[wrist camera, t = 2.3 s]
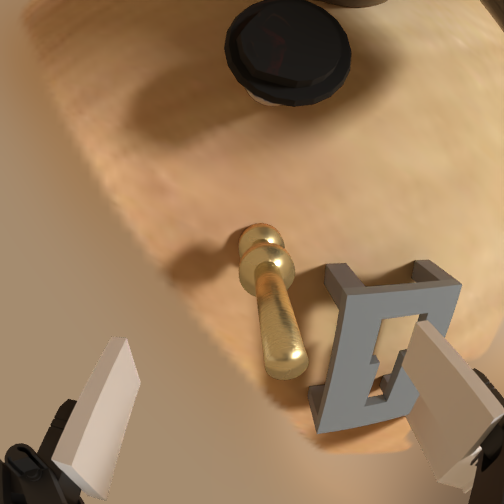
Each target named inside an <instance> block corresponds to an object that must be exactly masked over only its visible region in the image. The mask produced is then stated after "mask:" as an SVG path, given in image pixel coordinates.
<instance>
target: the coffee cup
mask: <svg viewBox="0 0 504 504" xmlns="http://www.w3.org/2000/svg"><path fill="white" fill-rule="evenodd" d="M224 50H225V55H226V59H227V64H228V67H229V68H230V70H231V71H232V73H233V74H234V76H235V78H236V79H237V81H238V82H239V83H240V84H241V85H243V86H244V87H245V89H246V90H247V92H248V93H249V95H250V96H251V97H252V98H253V99H254V100H255V101H257V102H259V103H261V104H263V105H268V106H279V105H287V106H293V107H295V106H303V105H312V104H315V103H317V102H320V101H322V100H324V99H326V98H329V97H331V96H332V95H333V94H334V93H335V92H336V91H337V90H338V89H339V88H340V87H341V86H342V85H343V84H344V82H345V80H346V78H347V75H348V73H349V71H350V65H351V48H350V45H349V41H348V38H347V34H346V33H345V31H344V30H343V28H342V27H341V25H340V24H339V22H338V21H337V20H336V19H335V18H334V17H333V16H332V15H330V14H329V13H328V12H327V11H326V10H324V9H323V8H321V7H319V6H317V5H315V4H313V3H310V2H308V1H306V0H264V1H261V2H258V3H255V4H253V5H251V6H249V7H248V8H247V9H245V10H244V11H243V12H242V13H240V14H239V15H238V16H237V17H236V18H235V19H234V21H233V22H232V24H231V26H230V27H229V29H228V31H227V34H226V40H225V46H224Z"/></svg>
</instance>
